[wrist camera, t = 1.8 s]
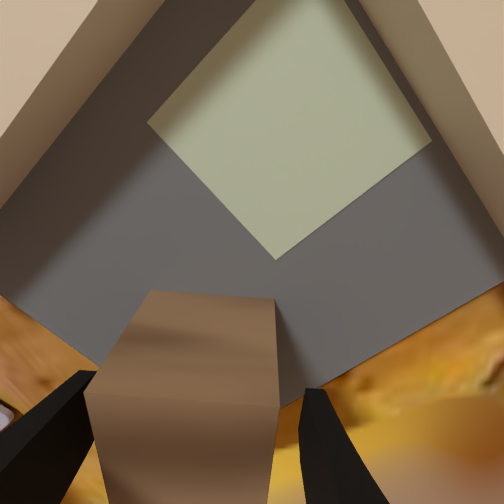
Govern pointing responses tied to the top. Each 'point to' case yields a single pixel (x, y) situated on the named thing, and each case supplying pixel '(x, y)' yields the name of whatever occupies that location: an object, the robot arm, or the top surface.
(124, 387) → the walnut cube
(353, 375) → the top surface
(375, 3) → the grey corner tray
